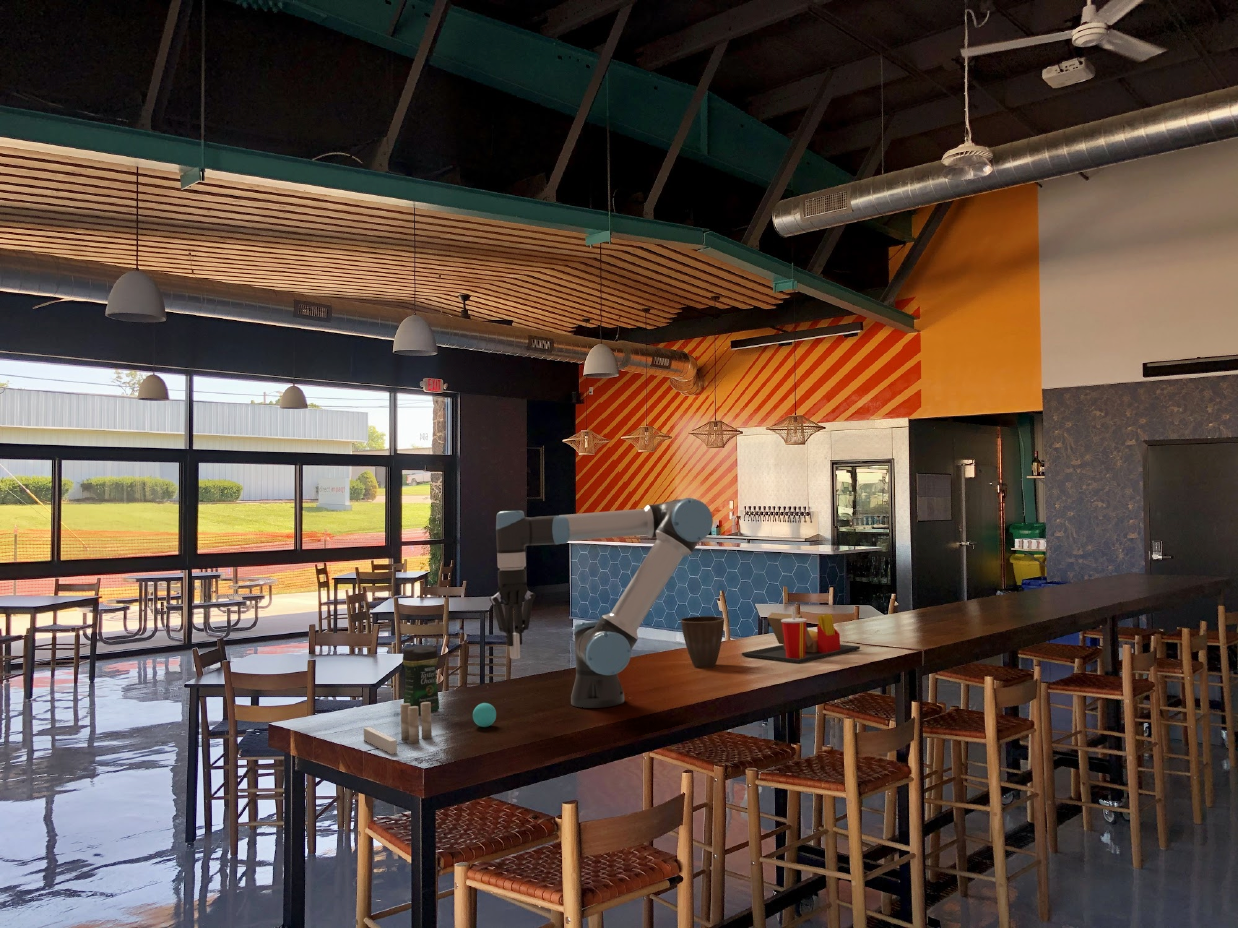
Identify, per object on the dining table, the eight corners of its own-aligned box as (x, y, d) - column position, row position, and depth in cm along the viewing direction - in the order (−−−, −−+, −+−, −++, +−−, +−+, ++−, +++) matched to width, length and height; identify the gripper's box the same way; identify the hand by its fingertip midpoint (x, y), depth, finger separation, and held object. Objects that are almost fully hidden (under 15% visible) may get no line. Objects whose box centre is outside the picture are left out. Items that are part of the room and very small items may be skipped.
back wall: (369, 739, 230) (369, 726, 230) (397, 752, 216) (396, 739, 216) (363, 740, 229) (363, 727, 230) (390, 754, 215) (390, 741, 215)
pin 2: (417, 740, 227) (415, 705, 227) (420, 742, 225) (419, 707, 225) (407, 742, 225) (406, 707, 226) (411, 744, 223) (410, 708, 224)
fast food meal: (860, 651, 334) (857, 600, 335) (798, 665, 311) (795, 610, 312) (803, 645, 353) (801, 597, 354) (741, 658, 331) (739, 606, 331)
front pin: (429, 735, 231) (428, 701, 231) (433, 737, 229) (432, 702, 229) (420, 737, 230) (419, 702, 230) (424, 739, 228) (423, 704, 228)
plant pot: (728, 668, 307) (726, 620, 308) (683, 670, 308) (681, 622, 308) (724, 661, 322) (722, 615, 323) (681, 663, 323) (679, 617, 323)
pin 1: (409, 737, 231) (408, 702, 231) (412, 738, 229) (411, 704, 229) (399, 738, 229) (398, 704, 230) (403, 740, 227) (402, 705, 228)
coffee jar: (414, 717, 253) (412, 649, 254) (399, 713, 259) (397, 646, 260) (444, 711, 260) (442, 644, 261) (429, 707, 266) (427, 642, 266)
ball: (490, 722, 243) (489, 699, 243) (500, 726, 238) (499, 703, 238) (469, 726, 239) (468, 703, 240) (479, 730, 234) (478, 706, 235)
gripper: (526, 566, 253) (529, 653, 252) (483, 570, 245) (486, 659, 244) (540, 567, 247) (543, 656, 245) (496, 570, 239) (499, 662, 238)
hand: (515, 657), depth 245 cm, fingers closed
